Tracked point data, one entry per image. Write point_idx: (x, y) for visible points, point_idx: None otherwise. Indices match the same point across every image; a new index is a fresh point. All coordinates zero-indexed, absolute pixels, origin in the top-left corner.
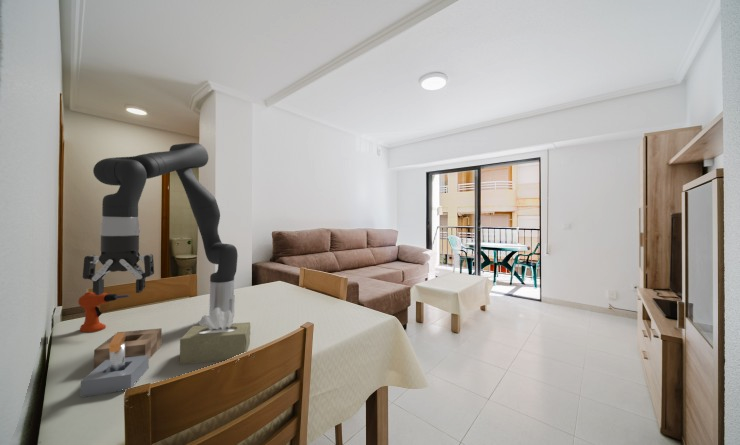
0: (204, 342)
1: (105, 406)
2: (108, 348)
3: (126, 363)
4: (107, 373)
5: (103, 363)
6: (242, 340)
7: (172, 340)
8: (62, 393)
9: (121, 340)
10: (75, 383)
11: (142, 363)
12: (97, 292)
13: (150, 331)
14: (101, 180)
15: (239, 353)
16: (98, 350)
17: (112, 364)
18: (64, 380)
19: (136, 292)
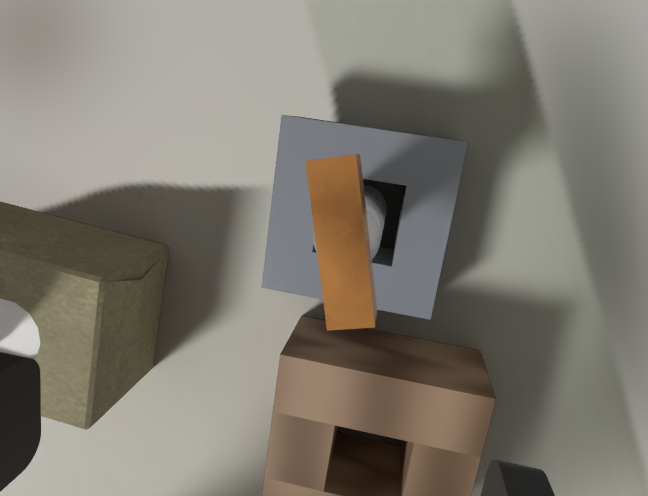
0: (14, 242)
1: (350, 25)
2: (435, 386)
3: None
4: (381, 169)
5: (428, 286)
6: None
7: (247, 493)
8: (534, 204)
9: (312, 211)
10: (513, 267)
11: (271, 222)
12: (520, 484)
13: None
14: None
15: None
16: (476, 391)
17: (368, 197)
18: (562, 314)
19: (27, 359)
